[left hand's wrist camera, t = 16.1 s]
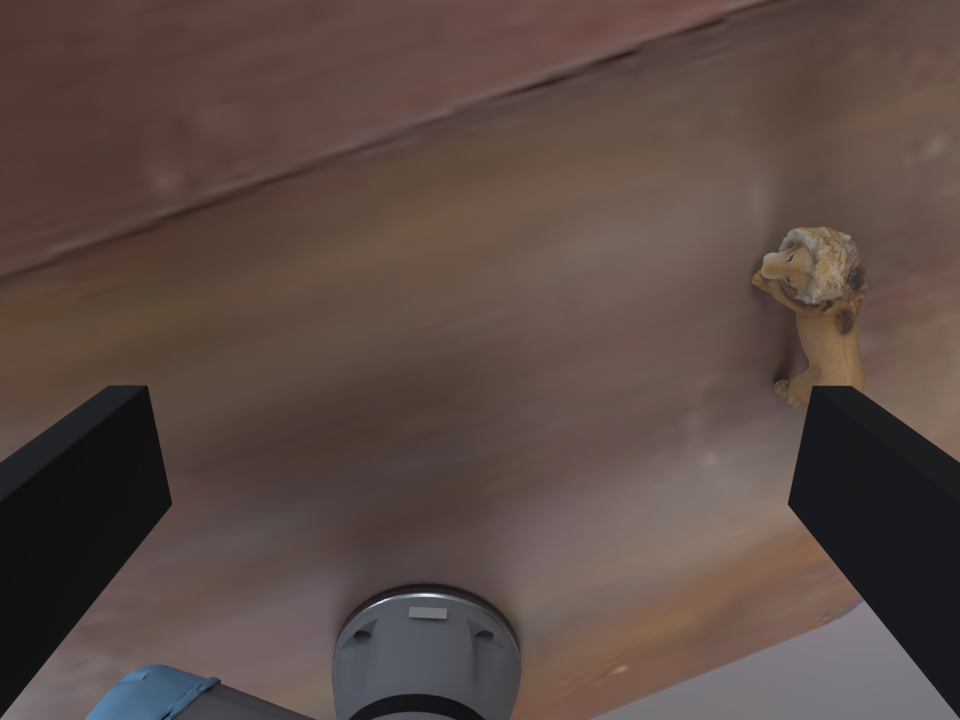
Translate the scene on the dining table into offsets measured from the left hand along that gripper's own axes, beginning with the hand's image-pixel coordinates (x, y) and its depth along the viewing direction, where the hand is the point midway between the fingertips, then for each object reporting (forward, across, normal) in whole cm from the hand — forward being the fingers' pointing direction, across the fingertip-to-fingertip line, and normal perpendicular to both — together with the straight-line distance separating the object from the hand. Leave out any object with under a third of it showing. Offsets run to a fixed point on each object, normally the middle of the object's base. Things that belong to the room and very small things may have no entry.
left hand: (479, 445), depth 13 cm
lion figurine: (+28, -20, +5) cm, 35 cm away
